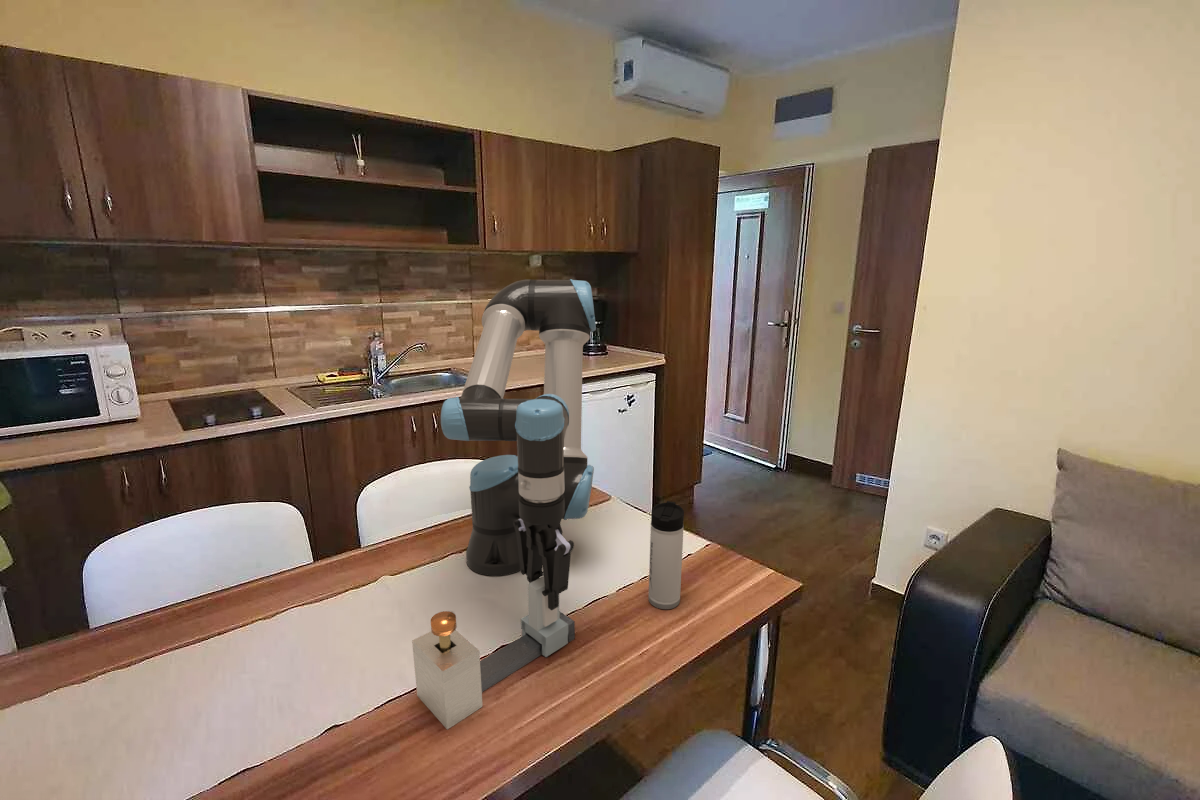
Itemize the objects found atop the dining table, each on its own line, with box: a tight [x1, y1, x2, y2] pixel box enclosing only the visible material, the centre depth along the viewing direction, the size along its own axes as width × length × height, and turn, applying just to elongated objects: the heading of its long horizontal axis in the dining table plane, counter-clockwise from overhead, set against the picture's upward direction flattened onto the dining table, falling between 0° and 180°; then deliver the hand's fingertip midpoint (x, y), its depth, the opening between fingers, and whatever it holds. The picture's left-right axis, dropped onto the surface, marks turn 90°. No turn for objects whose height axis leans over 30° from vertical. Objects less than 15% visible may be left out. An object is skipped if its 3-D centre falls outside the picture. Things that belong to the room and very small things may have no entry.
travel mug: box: [647, 500, 685, 610], centre depth 108 cm, size 6×7×20 cm
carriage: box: [520, 576, 569, 658], centre depth 97 cm, size 7×5×12 cm
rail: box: [411, 611, 576, 731], centre depth 91 cm, size 9×26×10 cm, turn 135°
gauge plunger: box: [430, 610, 458, 653], centre depth 83 cm, size 4×4×9 cm
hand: (544, 618), depth 97 cm, fingers closed on carriage, 2 cm apart
